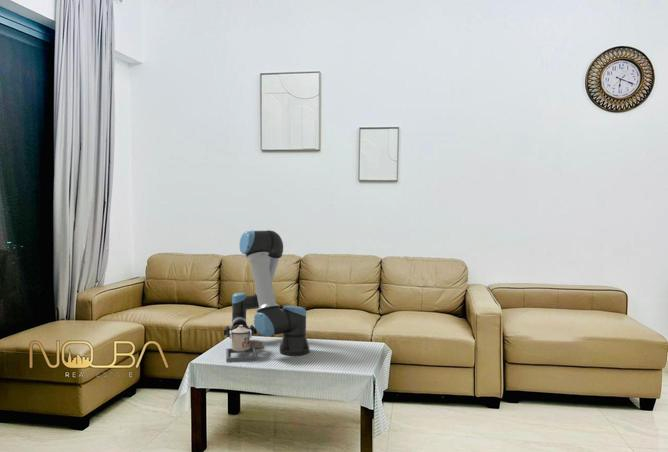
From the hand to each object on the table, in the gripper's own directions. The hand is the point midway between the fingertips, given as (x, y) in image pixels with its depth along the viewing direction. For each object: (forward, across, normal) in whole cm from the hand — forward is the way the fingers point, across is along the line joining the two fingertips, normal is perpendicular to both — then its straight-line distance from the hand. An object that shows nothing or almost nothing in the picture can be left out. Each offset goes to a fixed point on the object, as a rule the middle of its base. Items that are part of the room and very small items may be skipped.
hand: (240, 335), depth 242 cm
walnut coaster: (-22, -6, -11) cm, 26 cm away
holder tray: (-4, 0, -11) cm, 12 cm away
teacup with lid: (-4, -1, -8) cm, 9 cm away
